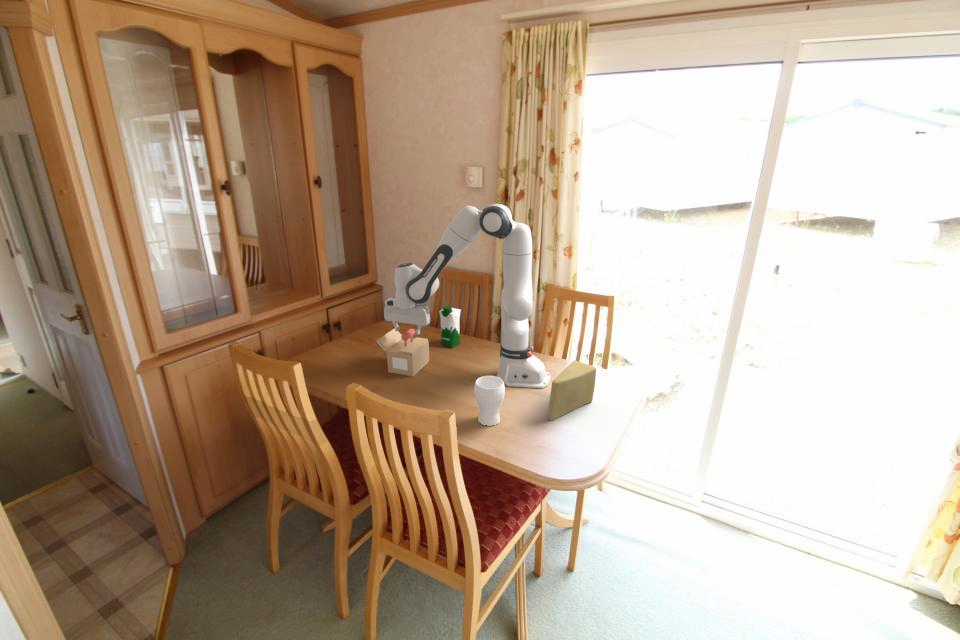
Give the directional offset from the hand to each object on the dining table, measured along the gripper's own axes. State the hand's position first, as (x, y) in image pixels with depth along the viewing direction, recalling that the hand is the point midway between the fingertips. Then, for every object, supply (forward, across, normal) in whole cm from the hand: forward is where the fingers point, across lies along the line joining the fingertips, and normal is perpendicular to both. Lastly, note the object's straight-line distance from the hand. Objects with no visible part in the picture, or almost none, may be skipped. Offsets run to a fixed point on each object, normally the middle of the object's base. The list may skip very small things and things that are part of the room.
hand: (407, 332), depth 186 cm
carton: (+16, 0, 0) cm, 16 cm away
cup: (+16, -46, +29) cm, 57 cm away
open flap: (+4, +8, 0) cm, 9 cm away
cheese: (+16, -71, +12) cm, 74 cm away
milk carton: (+16, -8, -29) cm, 34 cm away
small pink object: (+6, -2, 0) cm, 7 cm away
